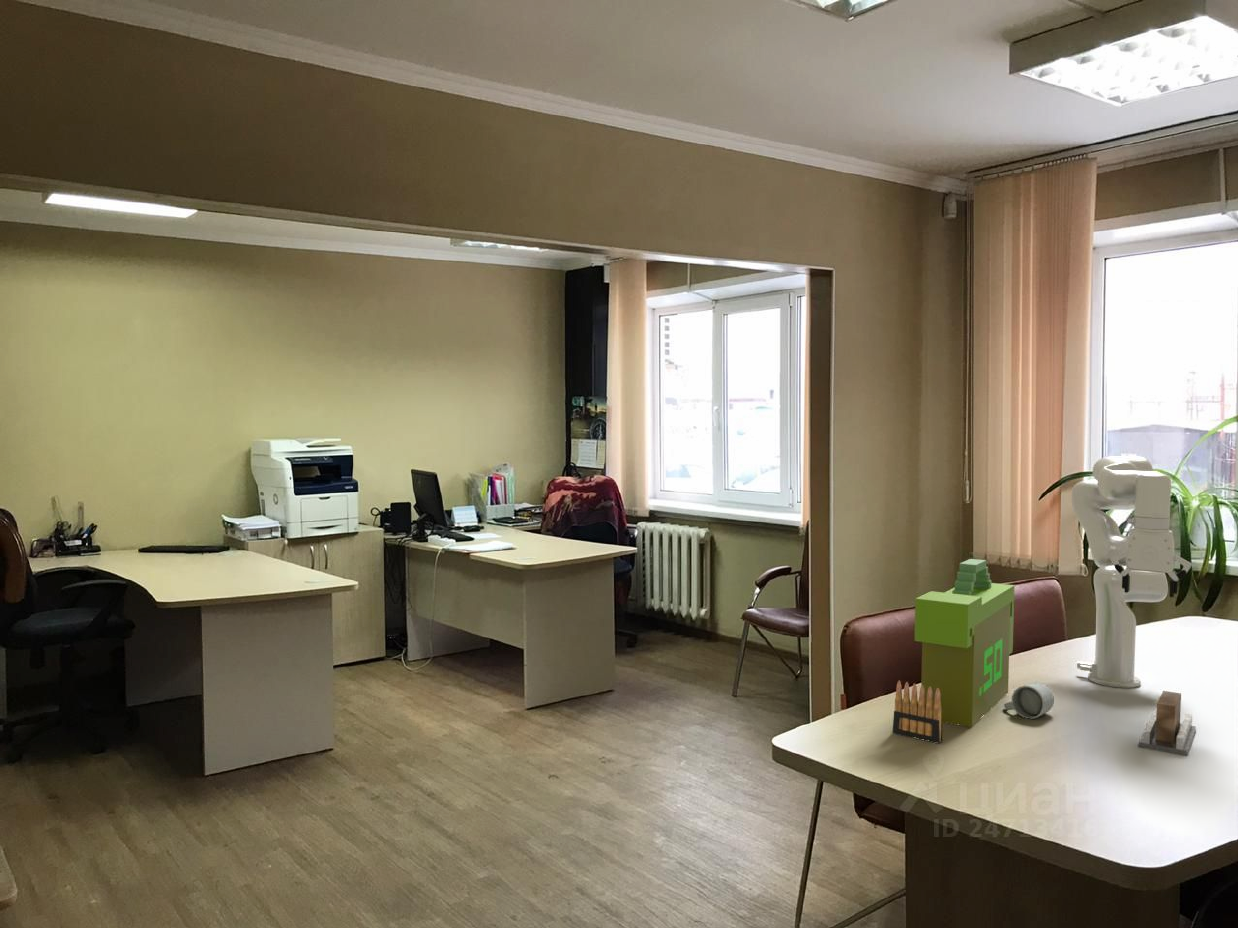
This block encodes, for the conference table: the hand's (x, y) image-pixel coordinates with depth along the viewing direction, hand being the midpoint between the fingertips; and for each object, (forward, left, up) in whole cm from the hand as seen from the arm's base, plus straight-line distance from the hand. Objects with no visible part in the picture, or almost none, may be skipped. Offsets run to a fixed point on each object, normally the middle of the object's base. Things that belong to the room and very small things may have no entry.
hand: (1149, 594), depth 230 cm
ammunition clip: (-38, -55, -28) cm, 73 cm away
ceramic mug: (-22, -22, -29) cm, 42 cm away
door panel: (+7, -22, -27) cm, 36 cm away
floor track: (+7, -22, -28) cm, 36 cm away
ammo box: (-36, -24, -28) cm, 52 cm away
